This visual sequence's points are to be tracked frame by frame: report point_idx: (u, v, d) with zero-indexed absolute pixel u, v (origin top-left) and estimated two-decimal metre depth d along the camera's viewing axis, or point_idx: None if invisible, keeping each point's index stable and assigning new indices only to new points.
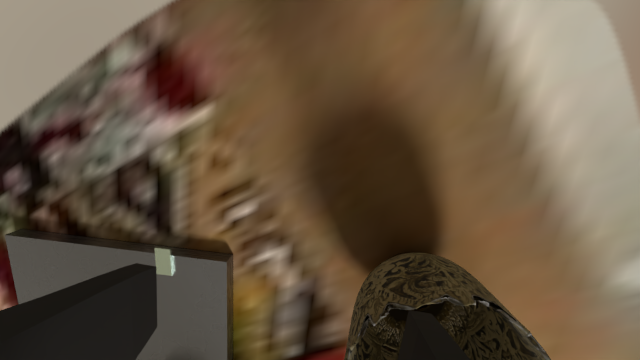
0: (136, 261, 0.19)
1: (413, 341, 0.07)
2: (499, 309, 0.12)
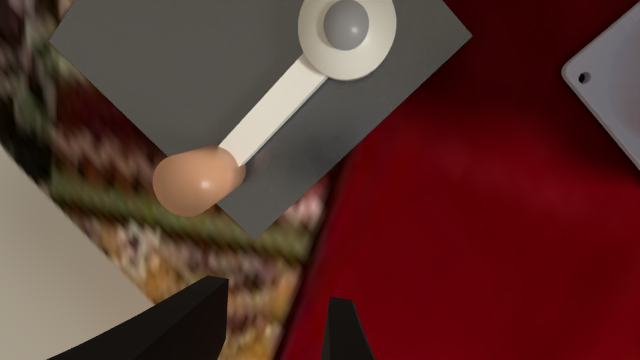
0: None
1: (326, 325, 0.07)
2: None
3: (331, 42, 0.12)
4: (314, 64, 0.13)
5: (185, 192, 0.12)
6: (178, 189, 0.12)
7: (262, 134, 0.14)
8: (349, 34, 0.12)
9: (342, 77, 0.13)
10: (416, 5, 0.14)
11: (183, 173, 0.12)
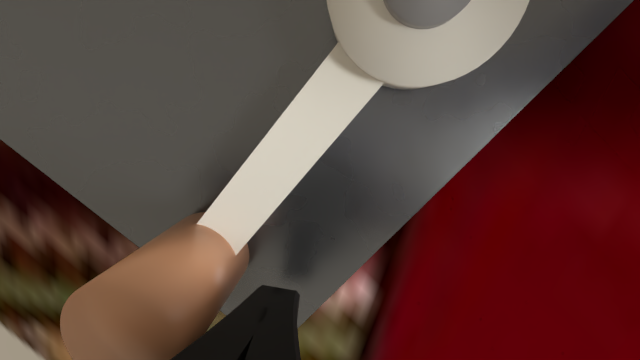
0: None
1: None
2: None
3: (400, 13, 0.06)
4: (364, 63, 0.06)
5: (128, 350, 0.06)
6: (113, 345, 0.06)
7: (271, 198, 0.08)
8: None
9: (422, 83, 0.06)
10: None
11: (118, 314, 0.06)
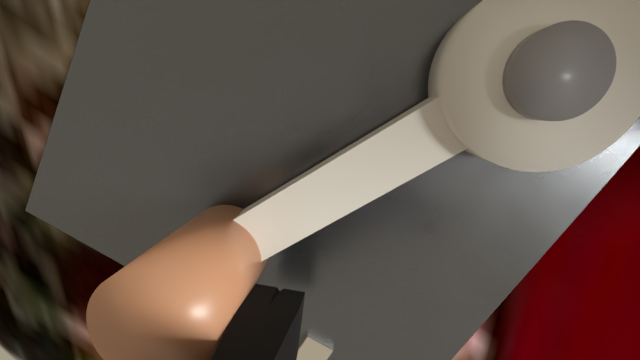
0: None
1: None
2: None
3: (518, 100, 0.06)
4: (462, 130, 0.07)
5: (153, 344, 0.06)
6: (139, 335, 0.06)
7: (318, 219, 0.08)
8: (563, 94, 0.06)
9: (508, 166, 0.07)
10: None
11: (157, 309, 0.06)
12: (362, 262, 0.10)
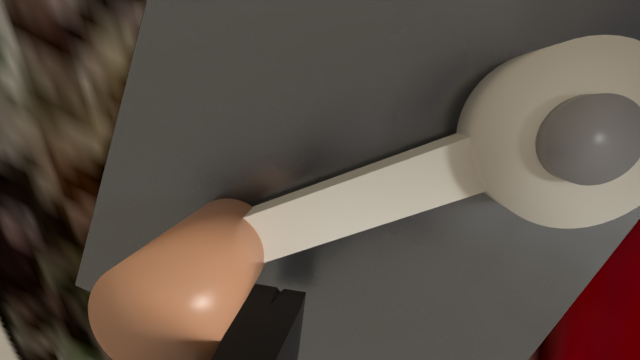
0: (162, 42, 0.09)
1: None
2: None
3: (549, 158, 0.06)
4: (488, 174, 0.07)
5: (154, 336, 0.06)
6: (141, 325, 0.06)
7: (328, 232, 0.08)
8: (592, 160, 0.06)
9: (524, 217, 0.07)
10: None
11: (164, 302, 0.06)
12: (404, 308, 0.10)
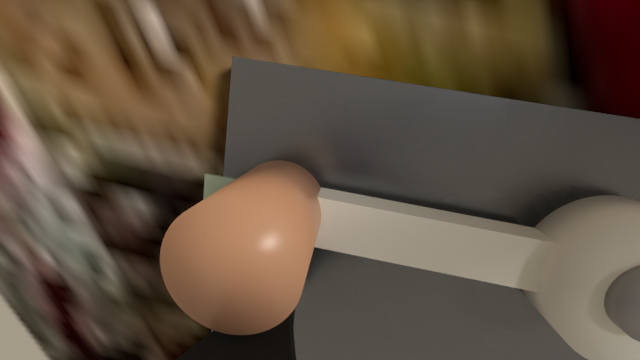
0: None
1: None
2: None
3: (620, 302, 0.07)
4: (559, 285, 0.07)
5: (223, 281, 0.05)
6: (217, 266, 0.05)
7: (385, 252, 0.08)
8: None
9: (561, 332, 0.07)
10: None
11: (257, 259, 0.05)
12: None
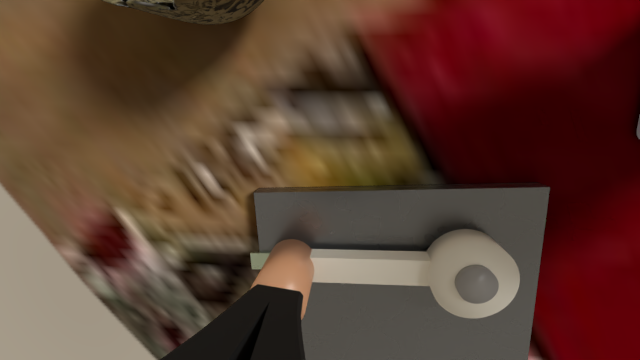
0: None
1: None
2: None
3: (458, 286, 0.14)
4: (432, 282, 0.15)
5: None
6: None
7: (349, 278, 0.16)
8: (473, 293, 0.14)
9: (440, 304, 0.15)
10: (489, 205, 0.15)
11: None
12: None
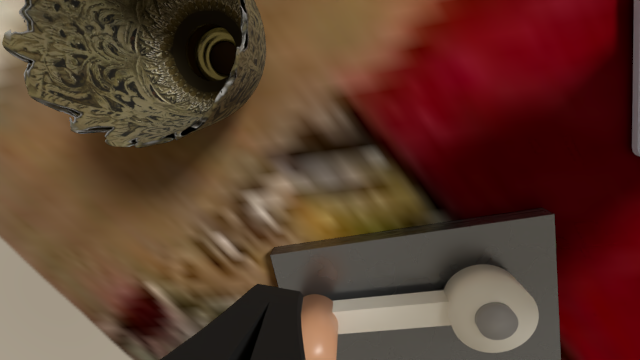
0: None
1: None
2: None
3: (478, 325, 0.15)
4: (453, 323, 0.15)
5: None
6: None
7: (373, 327, 0.16)
8: (494, 330, 0.15)
9: (464, 343, 0.15)
10: (497, 238, 0.16)
11: None
12: None
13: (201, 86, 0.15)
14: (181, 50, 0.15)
